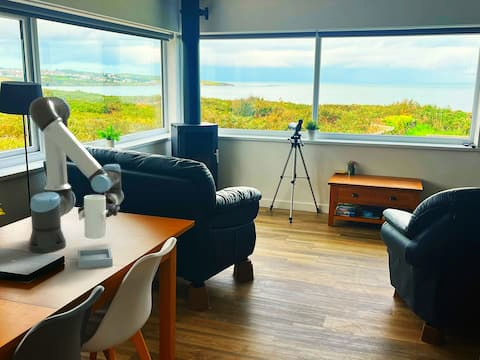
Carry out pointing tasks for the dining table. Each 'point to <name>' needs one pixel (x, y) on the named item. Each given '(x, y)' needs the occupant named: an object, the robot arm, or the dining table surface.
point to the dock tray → (94, 258)
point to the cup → (94, 216)
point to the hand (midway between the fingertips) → (91, 217)
